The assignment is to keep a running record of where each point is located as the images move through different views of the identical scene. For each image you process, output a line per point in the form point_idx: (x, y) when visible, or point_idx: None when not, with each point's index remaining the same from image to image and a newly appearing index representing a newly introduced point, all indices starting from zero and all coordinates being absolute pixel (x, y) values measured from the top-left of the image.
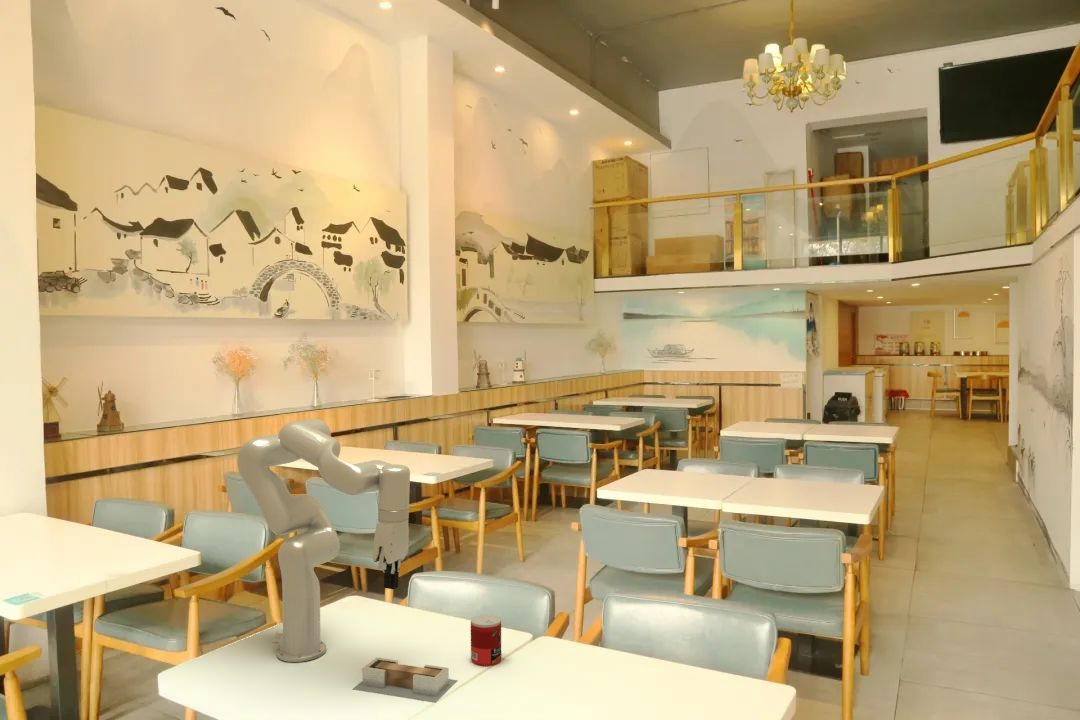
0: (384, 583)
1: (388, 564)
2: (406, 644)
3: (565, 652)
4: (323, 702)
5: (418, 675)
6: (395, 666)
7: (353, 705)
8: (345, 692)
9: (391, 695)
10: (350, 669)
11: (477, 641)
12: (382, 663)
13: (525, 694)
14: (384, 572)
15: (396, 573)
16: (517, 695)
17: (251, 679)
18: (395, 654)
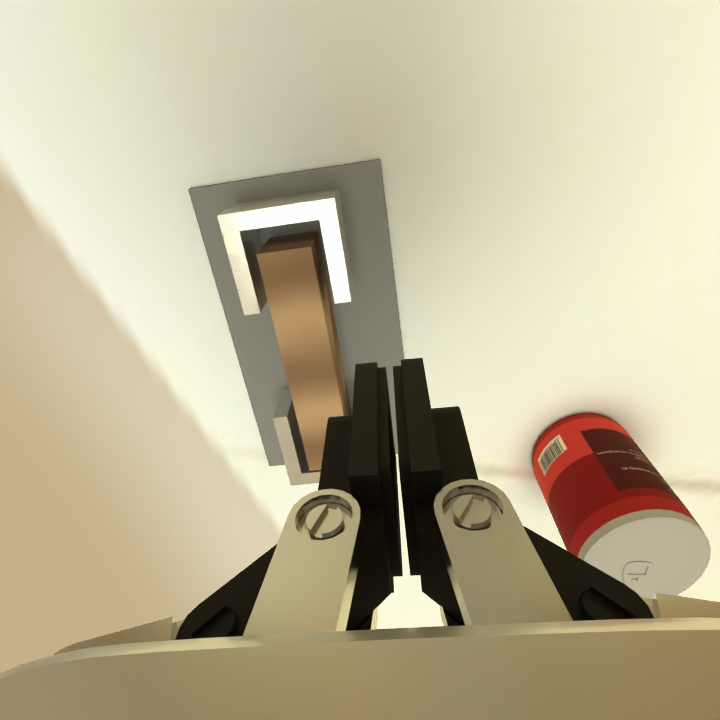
0: (356, 388)
1: (450, 555)
2: (671, 90)
3: (695, 588)
4: (66, 153)
5: (285, 430)
6: (302, 324)
7: (124, 267)
8: (168, 173)
9: (234, 342)
10: (331, 27)
11: (558, 508)
12: (297, 262)
13: (420, 594)
14: (302, 514)
15: (413, 573)
16: (408, 584)
17: None
18: (547, 119)
